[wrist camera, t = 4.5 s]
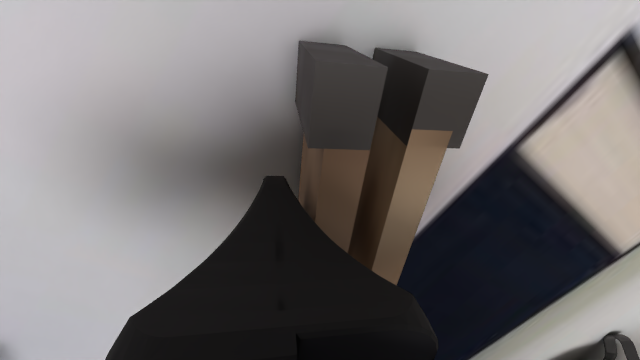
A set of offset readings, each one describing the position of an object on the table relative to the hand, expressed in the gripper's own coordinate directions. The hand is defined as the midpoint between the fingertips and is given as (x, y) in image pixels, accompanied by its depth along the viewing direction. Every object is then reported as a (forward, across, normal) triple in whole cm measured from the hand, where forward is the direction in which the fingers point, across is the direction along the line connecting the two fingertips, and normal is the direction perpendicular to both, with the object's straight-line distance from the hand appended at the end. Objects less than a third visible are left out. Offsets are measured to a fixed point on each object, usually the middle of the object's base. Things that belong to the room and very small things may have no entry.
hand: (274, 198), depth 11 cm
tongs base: (+2, -3, +3) cm, 5 cm away
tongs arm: (+1, -2, +3) cm, 4 cm away
